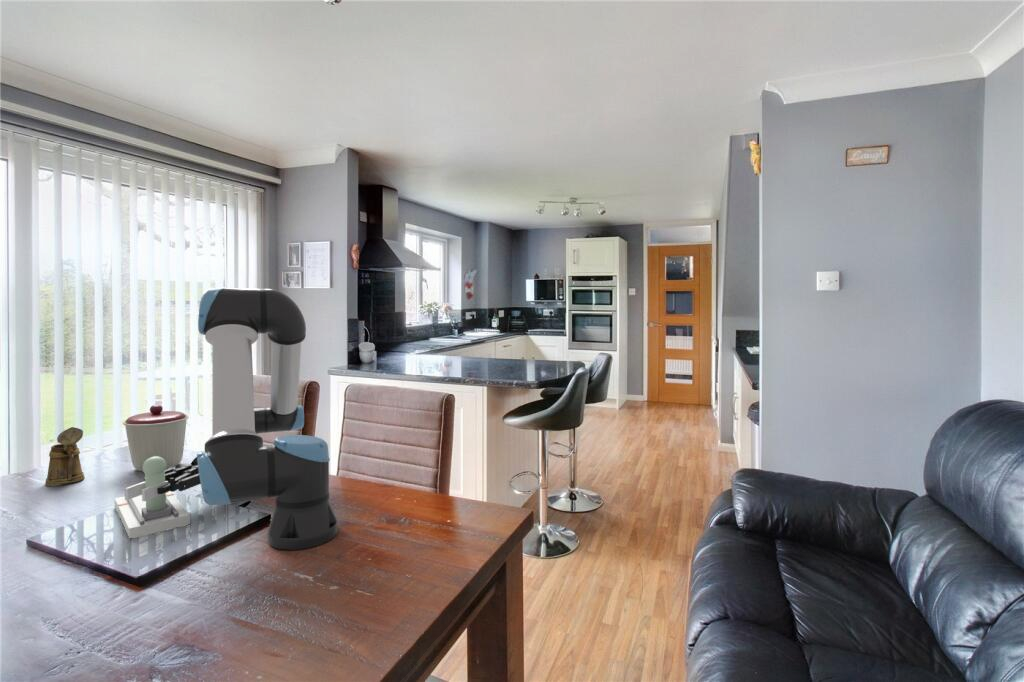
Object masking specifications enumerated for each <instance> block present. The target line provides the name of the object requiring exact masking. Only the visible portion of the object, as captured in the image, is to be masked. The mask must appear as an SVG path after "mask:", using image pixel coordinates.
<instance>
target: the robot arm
mask: <svg viewBox="0 0 1024 682" xmlns="http://www.w3.org/2000/svg"><path fill="white" fill-rule="evenodd" d="M198 308H199V309H198V322H197V326H198V333H199V334H200V335H203V336H204V338H205V341H206V342H207V343H208V344H210V345H211V346H212V353H211V354H212V355H211V356H212V368H211V369H212V376H211V377H212V379H211V380H212V392H211V393H212V396H211V397H212V399H211V400H212V412H211V413H212V422H211V423H212V428H211V429H212V436H210V438H209V439H208V440H207V441H205V442H204V450H201V451H199V452H198V453H197V454H196V457H194V458H193V459H192V461H191V463H190V464H187V465H183V466H181V467H179V468H176V466H175V467H174V466H172V467H170V468H168V469H166V470H165V481H164V482H162V483H159V484H156V485H153V486H151V487H148V488H145V477H143V481H142V482H139V483H136V484H133V485H130V486H128V487H125V490H124V491H125V494H124V496H125V495H126V500H129V499H132V498H134V497H137V496H140V495H142V501H147V500H150V499H152V498H155V497H157V496H160V495H162V494H165V493H167V492H169V491H171V492H172V493H173V492H176V491H178V492H183V491H185V490H188V489H191V488H194V487H196V486H199V485H200V487H201V494H202V498H203V501H204V503H205V504H207V505H209V506H220V505H221V506H222V505H231V504H235V503H242V502H249V501H255V500H261V499H269V498H274V497H275V507H274V511H273V514H272V517H271V521H270V524H269V527H268V529H267V543H268V545H270V546H271V547H272V548H275V549H279V550H283V551H284V550H285V551H286V550H287V551H289V550H290V551H297V550H305V549H309V548H314V547H317V546H319V545H323V544H325V543H327V542H329V541H331V540H332V539H333V538H335V537H336V536H337V534H338V530H339V529H338V520H337V516H336V514H335V512H334V510H333V509H334V508H333V506H332V503H331V501H330V471H329V470H330V468H329V467H330V466H329V464H330V454H329V445H328V442H326V441H325V440H324V439H323V438H320V437H317V436H314V435H313V436H312V435H307V434H306V435H304V434H285V435H279V436H277V437H275V439H274V441H273V444H266V445H264V440H263V436H261V435H260V434H266V433H280V432H291V431H297V430H301V429H303V428H304V427H305V426H304V425H305V410H304V406H303V405H298V403H299V402H298V401H299V387H300V371H301V370H300V368H301V353H302V352H301V350H302V349H301V348H302V343H303V342H304V341H305V340H306V333H307V327H306V321H305V317H304V315H303V312H302V311H301V309H300V308H299V306H298V304H296V302H295V301H294V300H293V299H292V298H291V297H290V296H288V295H287V294H285V293H284V292H282V291H279V290H276V289H273V288H227V287H225V286H222V287H216V288H214V287H210V288H207V289H205V290H204V291H203V292H202V295H201V297H200V303H199V307H198ZM259 334H267V338H268V340H269V341H270V342H271V347H270V348H271V349H270V350H271V351H270V353H271V355H270V357H271V358H270V364H271V365H270V402H269V403H270V404H269V405H270V407H259V408H258V407H257V408H255V395H254V392H255V391H254V390H255V389H254V373H253V372H254V370H253V369H254V368H253V347H252V346H253V344H254V343H256V342H257V341H258V340H259V339H258V338H259Z"/></svg>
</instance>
